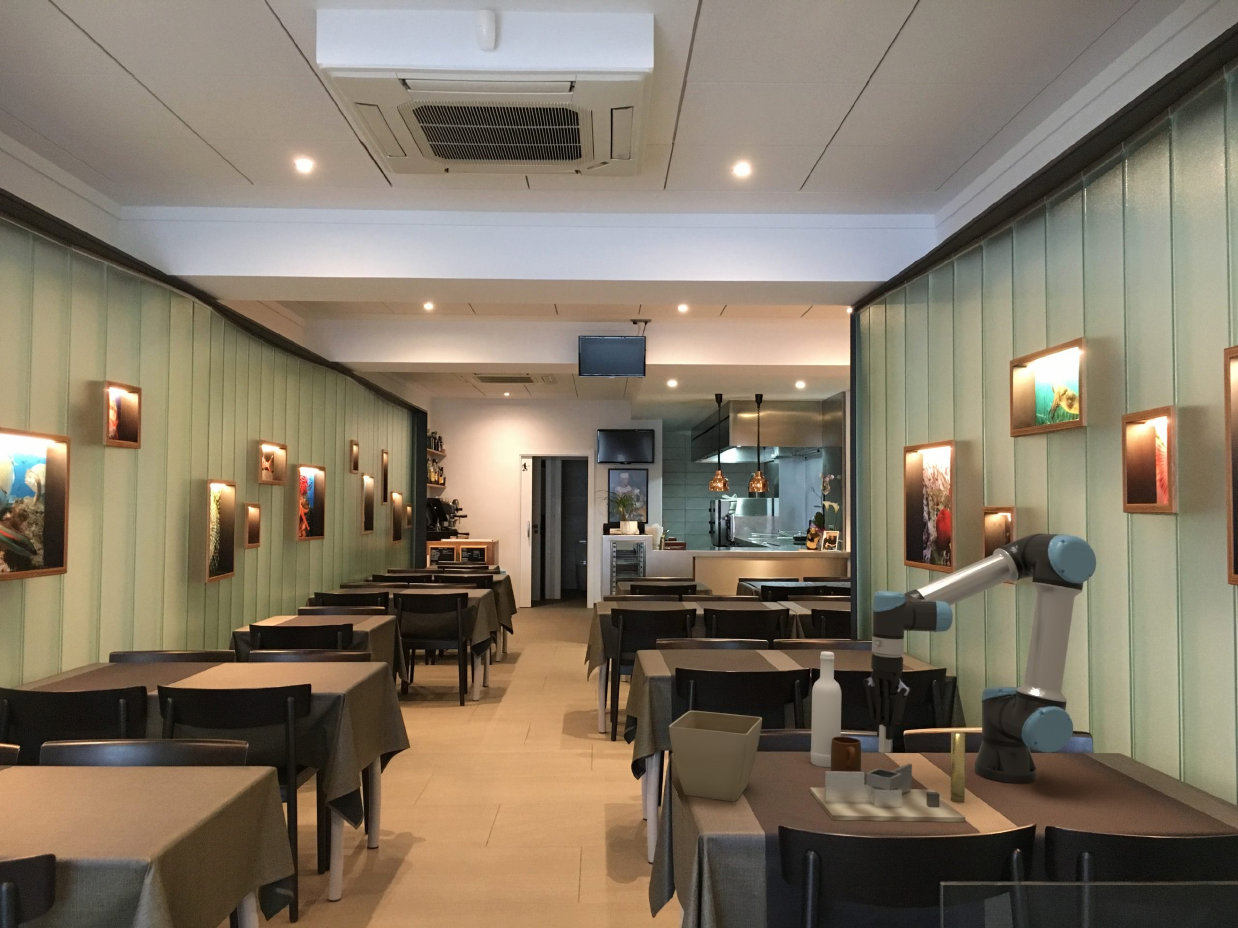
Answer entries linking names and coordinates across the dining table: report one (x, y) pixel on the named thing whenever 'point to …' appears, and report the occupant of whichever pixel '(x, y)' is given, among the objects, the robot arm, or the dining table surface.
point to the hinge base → (865, 791)
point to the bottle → (825, 712)
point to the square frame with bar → (891, 778)
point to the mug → (846, 754)
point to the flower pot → (714, 753)
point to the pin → (958, 767)
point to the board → (891, 809)
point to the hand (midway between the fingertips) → (884, 751)
